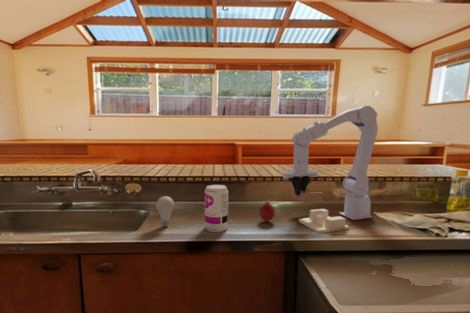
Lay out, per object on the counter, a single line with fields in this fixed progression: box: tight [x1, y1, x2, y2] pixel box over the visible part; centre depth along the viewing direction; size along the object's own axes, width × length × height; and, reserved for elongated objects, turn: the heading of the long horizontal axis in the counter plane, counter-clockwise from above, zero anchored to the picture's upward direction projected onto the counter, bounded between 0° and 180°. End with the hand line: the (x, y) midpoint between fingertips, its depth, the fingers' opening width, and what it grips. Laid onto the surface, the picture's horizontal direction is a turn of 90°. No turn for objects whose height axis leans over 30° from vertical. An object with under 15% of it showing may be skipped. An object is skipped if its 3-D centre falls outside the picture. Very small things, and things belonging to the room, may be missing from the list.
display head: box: [298, 208, 350, 234], centre depth 94 cm, size 13×12×4 cm
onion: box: [258, 200, 276, 223], centre depth 97 cm, size 6×6×8 cm
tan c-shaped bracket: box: [290, 186, 324, 203], centre depth 104 cm, size 8×10×4 cm
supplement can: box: [204, 184, 229, 233], centre depth 90 cm, size 8×8×15 cm
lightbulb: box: [155, 195, 175, 227], centre depth 91 cm, size 6×6×11 cm
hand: (299, 195), depth 103 cm, fingers closed on tan c-shaped bracket, 2 cm apart
